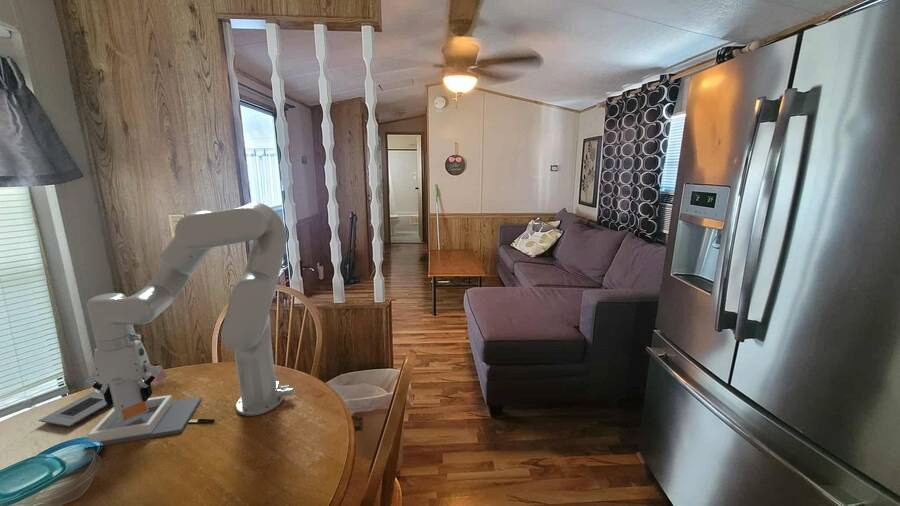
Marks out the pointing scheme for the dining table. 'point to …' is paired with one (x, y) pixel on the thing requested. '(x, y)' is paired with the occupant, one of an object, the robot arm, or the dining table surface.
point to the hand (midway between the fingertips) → (130, 400)
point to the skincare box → (127, 399)
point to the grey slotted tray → (77, 410)
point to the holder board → (146, 421)
